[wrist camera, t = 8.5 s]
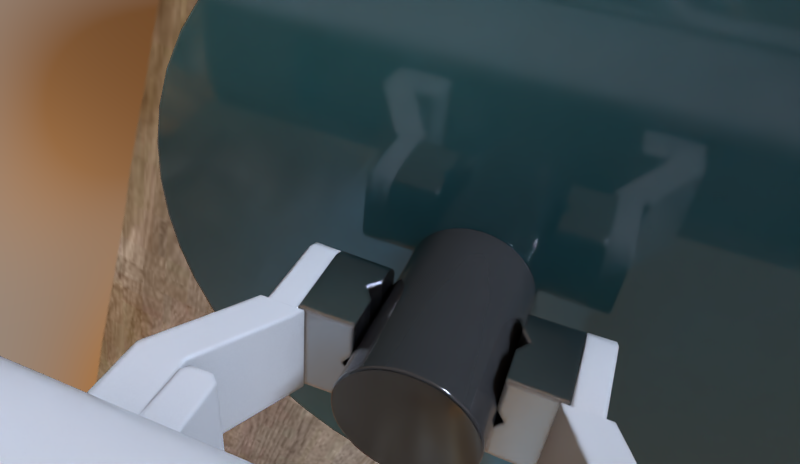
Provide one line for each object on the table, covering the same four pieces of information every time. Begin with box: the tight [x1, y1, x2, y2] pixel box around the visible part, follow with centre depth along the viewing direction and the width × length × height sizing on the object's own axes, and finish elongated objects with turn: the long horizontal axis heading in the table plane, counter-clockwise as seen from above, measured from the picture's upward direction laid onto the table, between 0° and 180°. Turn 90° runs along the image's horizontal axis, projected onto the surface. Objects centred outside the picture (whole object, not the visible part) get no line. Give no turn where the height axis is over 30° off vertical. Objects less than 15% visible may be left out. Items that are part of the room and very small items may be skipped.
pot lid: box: [158, 0, 800, 464], centre depth 12 cm, size 14×14×5 cm
